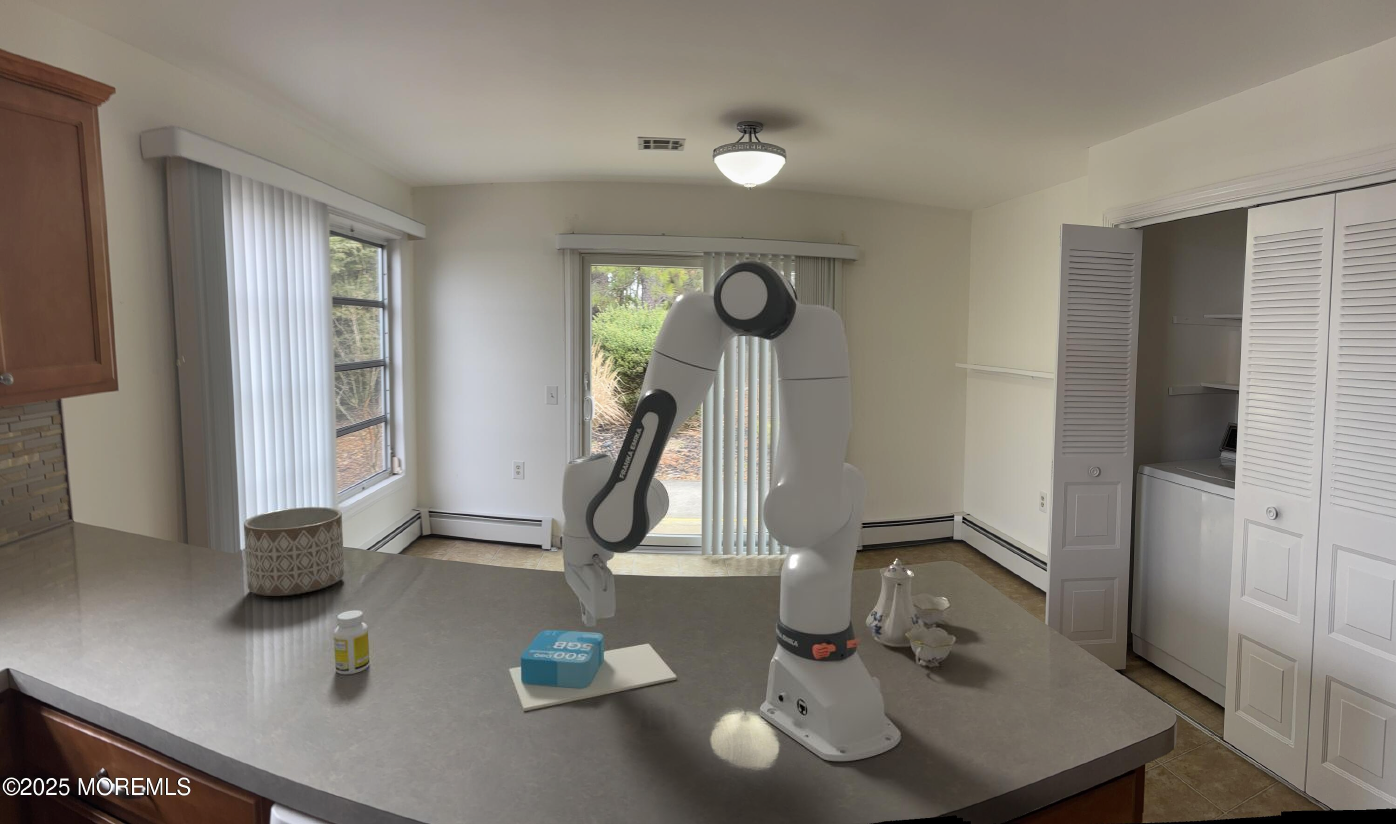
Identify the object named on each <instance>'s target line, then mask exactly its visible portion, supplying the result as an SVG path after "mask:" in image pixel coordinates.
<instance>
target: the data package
mask: <svg viewBox="0 0 1396 824" xmlns="http://www.w3.org/2000/svg"><path fill="white" fill-rule="evenodd" d="M604 651H605V636H604V635H603V634H602V633H600V632H589V631H576V630H575V631H574V630H557V629H545V630H542V631H540V632H539V633H538V634H537V636H535V638H534V639H533V641H532V642H531V643H530V644H529V645H528V647H527V648H526V649H525V650H524V651H523V653H522V654H521V656H520V667H521V681H522V682H523V683H524V684H528V685H542V686H555V687H568V688H585V687H587V686H589V685H590V684H591V682H592V680H593V678H594V676H595V675H596V673H597V671H598V669H599V667H600V665H601V664H602V662H603V660H604Z"/></svg>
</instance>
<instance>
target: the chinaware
mask: <svg viewBox="0 0 1396 824" xmlns="http://www.w3.org/2000/svg"><path fill="white" fill-rule="evenodd" d="M879 573H880V575H881V589H880V595H879V597H878V600H877V603H876V605H875V607H874V608H873V609H872V611H871V612H870V613H869V615H868V616H867V617H866V621H865V625H866V626H867V628H868V629H869V630H870V631H871V633H872V635H871V637H872V639H873V640H874V641H875V642H877V643H879V644H881V645H884V646H888V647H890V648H891V647H892V648H893V647H894V648H908V647H911V650H912V651H913V654H914V655H915V663H916V664H917V665H918V666H927V667H929V668H932V667H937V666H938V667H939V666H940V665H939V663H940V662H942V661H944V659H946V658H947V657H948V656H949V654H950V651H951V649H952V646H953V645H954V644H955V643H956V641H957V637H956V636H955V635H953V634H951V635H950V634H949V633H948V632H947V630H945V629H943V628H942V627H937V626H938V624H939V623H941V622H942V621H943V620H944V618H945V617H946V615H947V612H948V610H950V609H951V608H952V605H951V604H950V602H949V599H948V598H947V597H943V596H937V597H935V596H934V595H932V594H930V593H926V592H924V593H919V594H917V595H913V594H912V580H913V577H914V576H915V573H914V572H913V571H911V570H909V569H907V568H906V567H905V566H904V565H903V564H902V562H901V560H900V559H899V558H896V559H895V561H893V564H890V565H888V567H883V568H880V570H879Z"/></svg>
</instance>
